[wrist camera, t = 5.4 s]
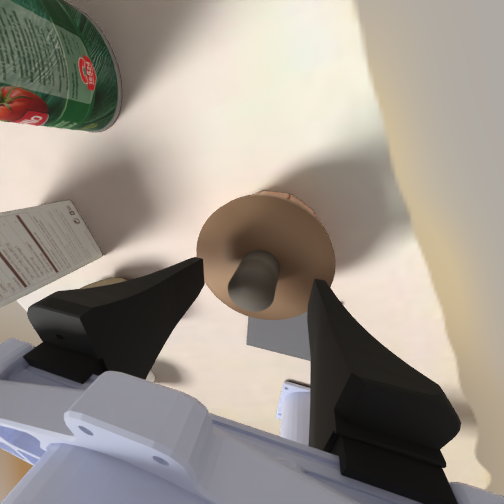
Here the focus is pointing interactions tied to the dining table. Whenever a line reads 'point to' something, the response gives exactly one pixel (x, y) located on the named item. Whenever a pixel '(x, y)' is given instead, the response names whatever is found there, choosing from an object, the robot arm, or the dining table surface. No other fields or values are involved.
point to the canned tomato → (56, 67)
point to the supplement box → (41, 247)
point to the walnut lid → (265, 256)
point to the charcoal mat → (281, 335)
